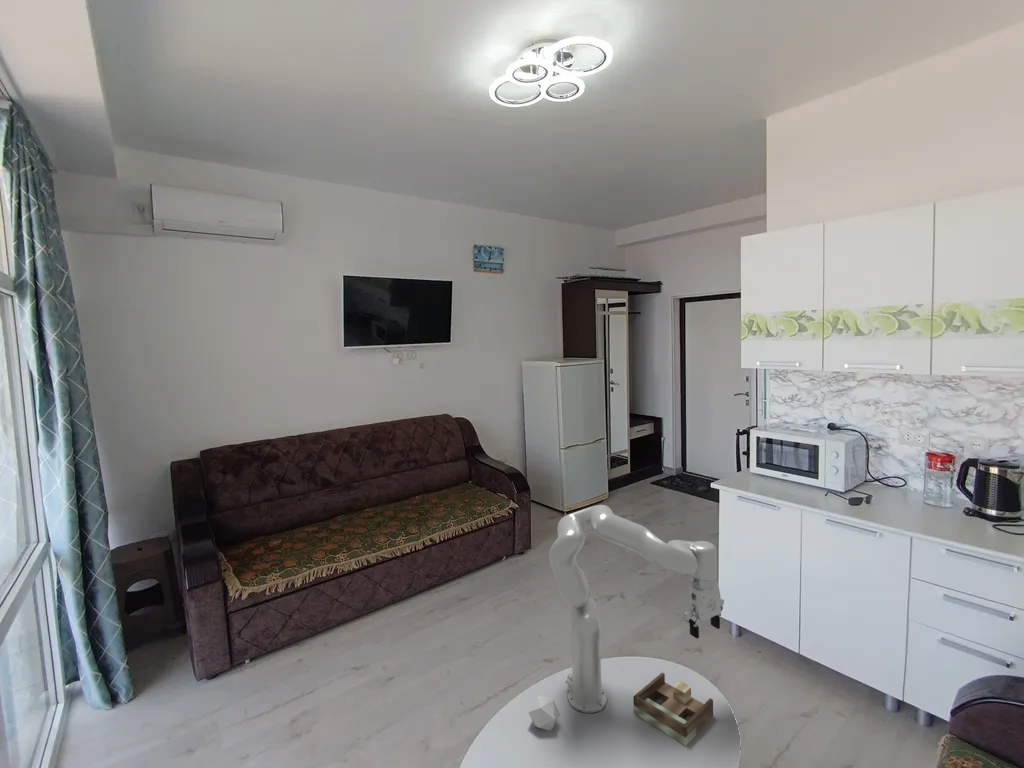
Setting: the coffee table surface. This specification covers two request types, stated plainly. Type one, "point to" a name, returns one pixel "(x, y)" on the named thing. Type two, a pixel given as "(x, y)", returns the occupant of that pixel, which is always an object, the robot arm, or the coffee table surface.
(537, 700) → the die
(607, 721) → the coffee table surface
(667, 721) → the box
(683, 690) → the maple block
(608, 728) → the coffee table surface
